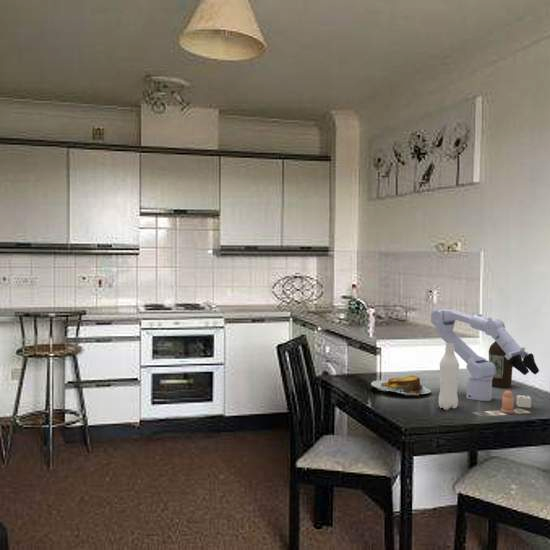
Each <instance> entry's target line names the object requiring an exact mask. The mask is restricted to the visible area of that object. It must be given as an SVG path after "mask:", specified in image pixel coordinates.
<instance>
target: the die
mask: <svg viewBox="0 0 550 550" xmlns="http://www.w3.org/2000/svg"><path fill="white" fill-rule="evenodd" d="M516 406H517V407H518V408H532V398H531V396H530V395H516Z"/></svg>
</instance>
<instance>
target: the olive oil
mask: <svg viewBox="0 0 550 550" xmlns="http://www.w3.org/2000/svg"><path fill="white" fill-rule="evenodd" d="M505 355H506V353H505V352H504V351H503V349H502V348H501V347H500V346H499V344H498V343H497V342H496V341H494V342H493V343H492V344H491V345H490V347H489V349H488V361H490V362H492V363H493V364H494V365H495V367H496V374H495V375H494V376H493V379H492V388H498V389H499V388H500V389H509V387H510V388H511V387H512V379H513V368H514V367H512V366H510V365H508V364H507V362H508V361H509V360H507V359H506V357H505Z"/></svg>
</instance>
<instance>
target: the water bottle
mask: <svg viewBox="0 0 550 550" xmlns="http://www.w3.org/2000/svg"><path fill="white" fill-rule="evenodd" d="M444 350H445V352H444V355H443V356H442V358H441V359H440V362H439V377H438V380H439V394H438V406H439V407H440V409H441V408H443V410H445V411H448V410H449V409H451V408H452V409H456V408H457V407H458V405H459V397H458V385H459V380H460V378H459V372H460V371H459V369H460V363H459V360H458V358H457V356H456V354H455V351H454V350H455V349H454V344H453V343H446V342H445V349H444Z"/></svg>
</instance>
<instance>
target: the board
mask: <svg viewBox="0 0 550 550" xmlns="http://www.w3.org/2000/svg"><path fill="white" fill-rule="evenodd" d="M531 413H532V412H530V411H528V410H525V409H522V408H521V407H518V408H514V413H512V414H508V413H503V412H501V409H497V410H488V411H487V410H486V411H485V410H484V411H474V412H473V411H472V414H475V415H477V416H479V417H481V418H485V417H486V418H487V417H495V416H497V417H498V416H508V415H517V414H531Z"/></svg>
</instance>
